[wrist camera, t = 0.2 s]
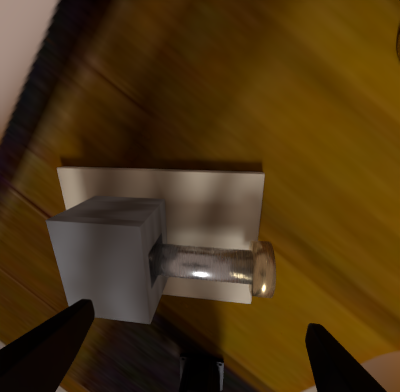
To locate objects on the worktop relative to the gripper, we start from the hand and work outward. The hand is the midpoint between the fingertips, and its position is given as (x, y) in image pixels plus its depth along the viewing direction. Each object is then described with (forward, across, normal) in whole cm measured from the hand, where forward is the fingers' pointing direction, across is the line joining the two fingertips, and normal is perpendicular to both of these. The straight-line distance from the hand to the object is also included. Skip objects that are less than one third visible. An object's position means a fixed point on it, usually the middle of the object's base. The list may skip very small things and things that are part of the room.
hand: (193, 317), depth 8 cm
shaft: (+12, +1, +5) cm, 13 cm away
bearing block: (+14, +6, +5) cm, 16 cm away
